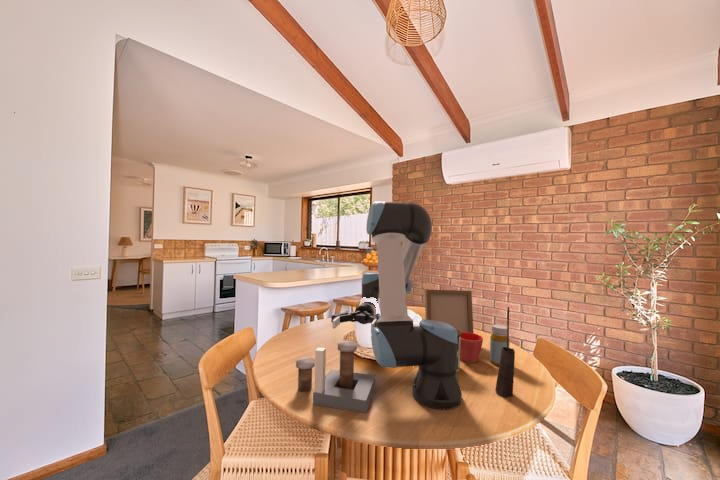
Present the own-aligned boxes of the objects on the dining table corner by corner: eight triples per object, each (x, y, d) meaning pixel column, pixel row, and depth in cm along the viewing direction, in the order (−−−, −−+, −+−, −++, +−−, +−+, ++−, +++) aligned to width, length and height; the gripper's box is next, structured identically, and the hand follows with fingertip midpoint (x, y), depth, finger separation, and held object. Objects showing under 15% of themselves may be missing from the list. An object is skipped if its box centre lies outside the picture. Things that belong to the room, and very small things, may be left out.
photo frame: (473, 346, 140) (475, 293, 140) (427, 344, 140) (428, 291, 140) (464, 335, 155) (465, 287, 154) (422, 334, 155) (423, 286, 155)
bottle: (489, 364, 119) (490, 327, 119) (490, 358, 125) (491, 323, 125) (508, 368, 116) (509, 330, 116) (508, 361, 122) (509, 325, 122)
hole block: (375, 385, 100) (376, 338, 99) (365, 412, 84) (367, 356, 84) (330, 379, 103) (331, 333, 103) (312, 404, 88) (314, 350, 87)
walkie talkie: (521, 406, 89) (523, 313, 89) (487, 396, 94) (489, 309, 94) (523, 393, 97) (525, 308, 97) (491, 385, 102) (494, 304, 102)
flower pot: (488, 362, 121) (489, 338, 121) (467, 366, 117) (467, 341, 117) (470, 352, 131) (470, 330, 131) (449, 355, 127) (450, 333, 127)
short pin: (317, 389, 97) (318, 361, 96) (301, 395, 92) (302, 366, 92) (307, 382, 101) (308, 355, 101) (292, 387, 97) (292, 360, 97)
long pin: (359, 395, 93) (360, 344, 93) (344, 401, 89) (345, 348, 89) (347, 387, 98) (348, 339, 98) (332, 393, 94) (333, 343, 94)
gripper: (395, 324, 119) (388, 340, 98) (336, 319, 124) (317, 334, 104) (395, 305, 119) (389, 317, 98) (336, 301, 124) (318, 312, 104)
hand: (352, 326), depth 101 cm, fingers open, 13 cm apart
